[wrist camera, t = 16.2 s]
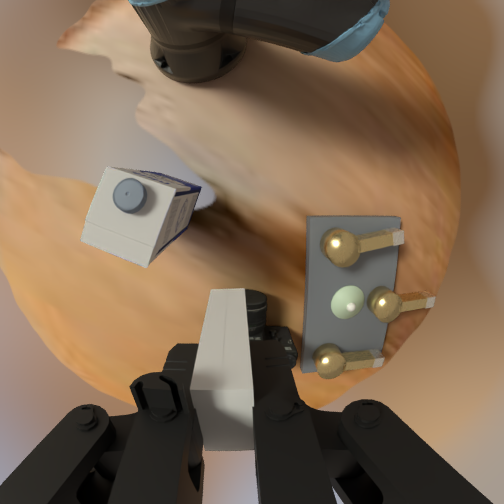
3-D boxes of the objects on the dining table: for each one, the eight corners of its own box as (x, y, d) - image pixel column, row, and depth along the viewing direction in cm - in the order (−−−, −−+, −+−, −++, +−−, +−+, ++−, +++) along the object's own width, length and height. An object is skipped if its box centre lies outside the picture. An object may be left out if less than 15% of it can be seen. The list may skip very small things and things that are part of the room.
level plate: (306, 215, 41) (311, 218, 38) (394, 215, 42) (404, 218, 39) (300, 367, 48) (303, 376, 45) (375, 355, 49) (381, 363, 46)
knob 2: (310, 366, 45) (315, 380, 41) (314, 343, 44) (321, 357, 40) (371, 360, 46) (379, 372, 42) (377, 339, 45) (387, 350, 41)
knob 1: (321, 262, 41) (330, 271, 37) (317, 230, 39) (326, 235, 35) (391, 246, 41) (404, 252, 37) (389, 216, 39) (402, 220, 35)
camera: (296, 290, 44) (312, 319, 34) (285, 345, 47) (296, 380, 37) (210, 283, 43) (203, 310, 33) (206, 339, 45) (201, 375, 36)
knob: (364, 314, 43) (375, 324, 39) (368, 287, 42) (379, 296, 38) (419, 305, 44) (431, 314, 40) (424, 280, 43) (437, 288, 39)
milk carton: (146, 214, 40) (78, 240, 20) (159, 172, 38) (96, 165, 19) (188, 229, 41) (147, 269, 21) (203, 187, 39) (171, 189, 20)
